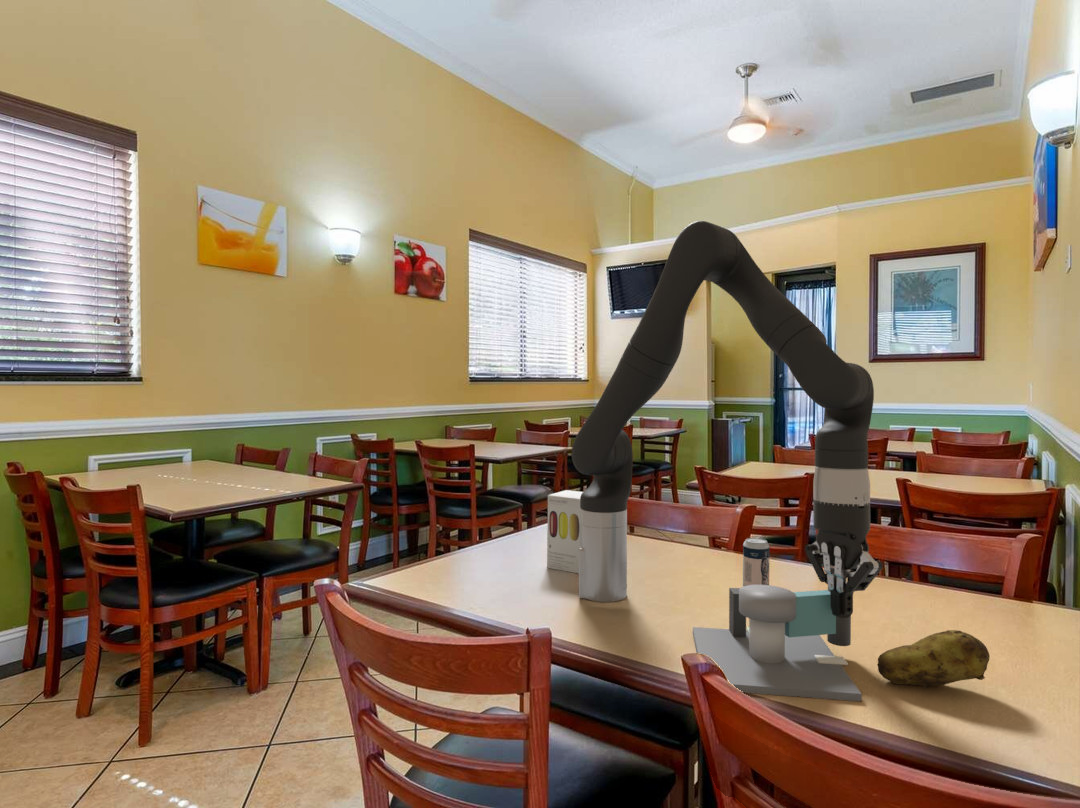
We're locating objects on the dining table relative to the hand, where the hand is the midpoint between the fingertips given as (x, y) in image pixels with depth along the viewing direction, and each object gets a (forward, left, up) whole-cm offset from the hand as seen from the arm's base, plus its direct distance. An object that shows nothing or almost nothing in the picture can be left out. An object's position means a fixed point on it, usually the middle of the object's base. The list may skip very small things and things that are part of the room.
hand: (841, 616), depth 92 cm
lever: (-6, +1, -5) cm, 8 cm away
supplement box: (-45, +46, -8) cm, 64 cm away
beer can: (-8, +27, -8) cm, 29 cm away
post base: (-11, 0, -8) cm, 13 cm away
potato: (+10, -4, -8) cm, 14 cm away
